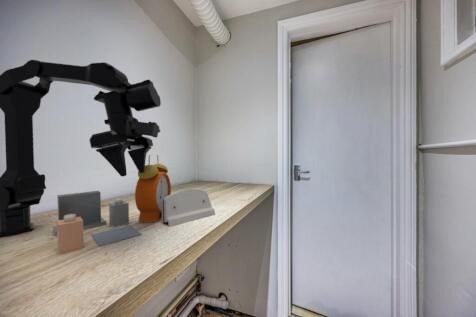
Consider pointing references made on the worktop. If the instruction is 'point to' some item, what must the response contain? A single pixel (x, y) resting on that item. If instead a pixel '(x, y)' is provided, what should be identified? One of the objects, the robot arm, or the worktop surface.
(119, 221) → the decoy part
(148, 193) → the alarm clock
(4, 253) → the worktop surface
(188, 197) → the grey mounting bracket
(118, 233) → the mat
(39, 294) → the worktop surface
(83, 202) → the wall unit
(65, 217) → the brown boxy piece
